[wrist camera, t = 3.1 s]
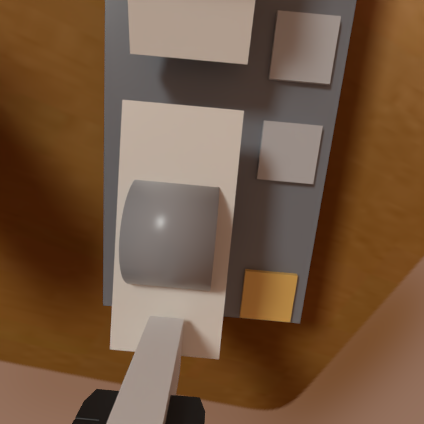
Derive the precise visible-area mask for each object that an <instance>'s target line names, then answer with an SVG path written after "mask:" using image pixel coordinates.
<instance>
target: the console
mask: <svg viewBox="0 0 424 424" xmlns="http://www.w3.org/2000/svg"><path fill="white" fill-rule="evenodd" d="M356 1H357V0H255V7H254V15H253V24H252V32H251V40H250V48H249V56H248V64H236V63H225V62H214V61H203V60H193V59H182V58H171V57H160V56H149V55H138V54H130V41H129V18H128V0H105V97H104V240H103V305H105V306H112V296H113V276H114V256H115V236H116V216H117V196H118V176H119V156H120V136H121V116H122V100H133V101H144V102H154V103H165V104H176V105H187V106H198V107H209V108H220V109H231V110H242V111H244V116H243V126H242V136H241V146H240V156H239V165H238V175H237V185H236V195H235V205H234V215H233V225H232V235H231V245H230V254H229V264H228V274H227V284H226V294H225V304H224V314H223V316H224V317H235V318H246V319H257V320H268V321H279V322H290V323H300V320H301V314H302V309H303V303H304V297H305V291H306V286H307V280H308V274H309V269H310V263H311V257H312V252H313V246H314V240H315V234H316V229H317V223H318V217H319V212H320V206H321V200H322V195H323V189H324V183H325V177H326V172H327V166H328V160H329V155H330V149H331V143H332V138H333V132H334V126H335V120H336V115H337V109H338V103H339V98H340V92H341V86H342V81H343V75H344V69H345V63H346V58H347V52H348V46H349V41H350V35H351V29H352V24H353V18H354V12H355V6H356Z"/></svg>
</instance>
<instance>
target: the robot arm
mask: <svg viewBox="0 0 424 424" xmlns="http://www.w3.org/2000/svg"><path fill="white" fill-rule="evenodd" d="M183 322H184V319H181V318H170V317H159V316H149V319H148V321H147V324H146V326H145V329H144V331H143V334H142V336H141V339H140V341H139V344H138V346H137V349H136V351H135V354H134V356H133V359H132V361H131V364H130V366H129V369H128V371H127V374H126V376H125V378H124V381H123V383H122V386H121V388H120V391H112V390H102V389H96V390H95V391H94V392H93V393H92V394H91V395H90V396H89V397H88V398H87V399H86V400H85V401H84V402H83V404H82V406H81V408H80V410H79V412H78V414H77V415H76V419H75V420H74V421H73V423H72V424H204V422H205V410H204V408H203V405H202V402H201V400H200V398H198V397H188V396H177V395H176V391H177V385H178V379H179V373H180V362H181V349H182V335H183Z"/></svg>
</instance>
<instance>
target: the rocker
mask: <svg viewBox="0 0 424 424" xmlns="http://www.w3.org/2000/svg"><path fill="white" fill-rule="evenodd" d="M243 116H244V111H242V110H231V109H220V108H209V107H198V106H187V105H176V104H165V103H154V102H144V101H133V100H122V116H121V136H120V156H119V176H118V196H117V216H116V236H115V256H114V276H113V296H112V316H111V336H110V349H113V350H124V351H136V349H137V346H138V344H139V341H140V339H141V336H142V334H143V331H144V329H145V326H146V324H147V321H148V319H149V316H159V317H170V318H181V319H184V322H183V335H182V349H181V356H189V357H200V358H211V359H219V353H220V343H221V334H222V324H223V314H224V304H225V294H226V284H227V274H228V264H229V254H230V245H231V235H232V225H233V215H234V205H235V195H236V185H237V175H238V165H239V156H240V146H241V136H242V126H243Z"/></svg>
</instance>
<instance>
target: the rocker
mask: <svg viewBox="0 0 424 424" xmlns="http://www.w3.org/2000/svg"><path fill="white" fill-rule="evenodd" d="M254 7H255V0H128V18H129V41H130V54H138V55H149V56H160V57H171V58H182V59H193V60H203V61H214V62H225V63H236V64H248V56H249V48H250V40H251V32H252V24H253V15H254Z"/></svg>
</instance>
